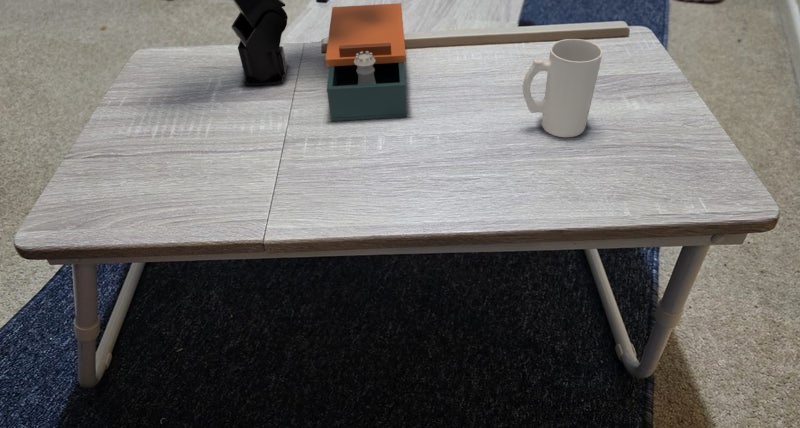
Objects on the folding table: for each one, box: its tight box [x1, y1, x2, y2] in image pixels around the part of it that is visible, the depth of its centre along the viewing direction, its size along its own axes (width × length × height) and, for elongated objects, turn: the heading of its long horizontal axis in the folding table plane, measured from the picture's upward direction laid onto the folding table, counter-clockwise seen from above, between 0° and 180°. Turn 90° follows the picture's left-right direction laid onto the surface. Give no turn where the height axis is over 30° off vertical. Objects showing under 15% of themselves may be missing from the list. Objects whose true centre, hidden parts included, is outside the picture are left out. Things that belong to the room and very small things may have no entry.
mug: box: [522, 38, 604, 138], centre depth 81 cm, size 10×7×12 cm, turn 92°
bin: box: [326, 62, 408, 122], centre depth 93 cm, size 19×12×6 cm, turn 2°
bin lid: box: [325, 2, 407, 68], centre depth 96 cm, size 20×12×3 cm, turn 2°
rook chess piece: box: [354, 51, 376, 85], centre depth 88 cm, size 4×4×8 cm
